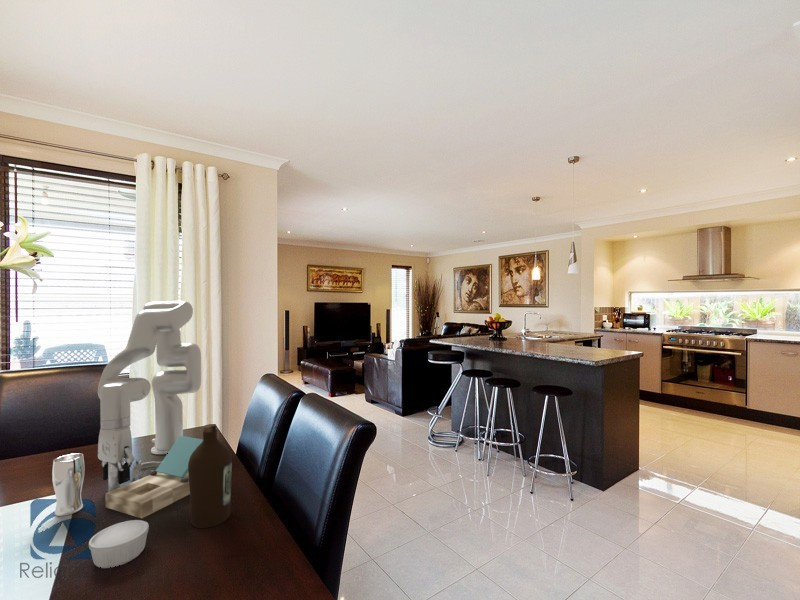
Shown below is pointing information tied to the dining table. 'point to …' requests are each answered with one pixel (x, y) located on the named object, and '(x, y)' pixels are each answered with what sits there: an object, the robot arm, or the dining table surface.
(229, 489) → the olive oil
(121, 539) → the ramekin
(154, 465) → the caliper
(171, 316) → the robot arm
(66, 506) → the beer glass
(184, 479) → the wooden block
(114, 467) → the steel peg
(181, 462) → the latch flap
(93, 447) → the dining table surface
